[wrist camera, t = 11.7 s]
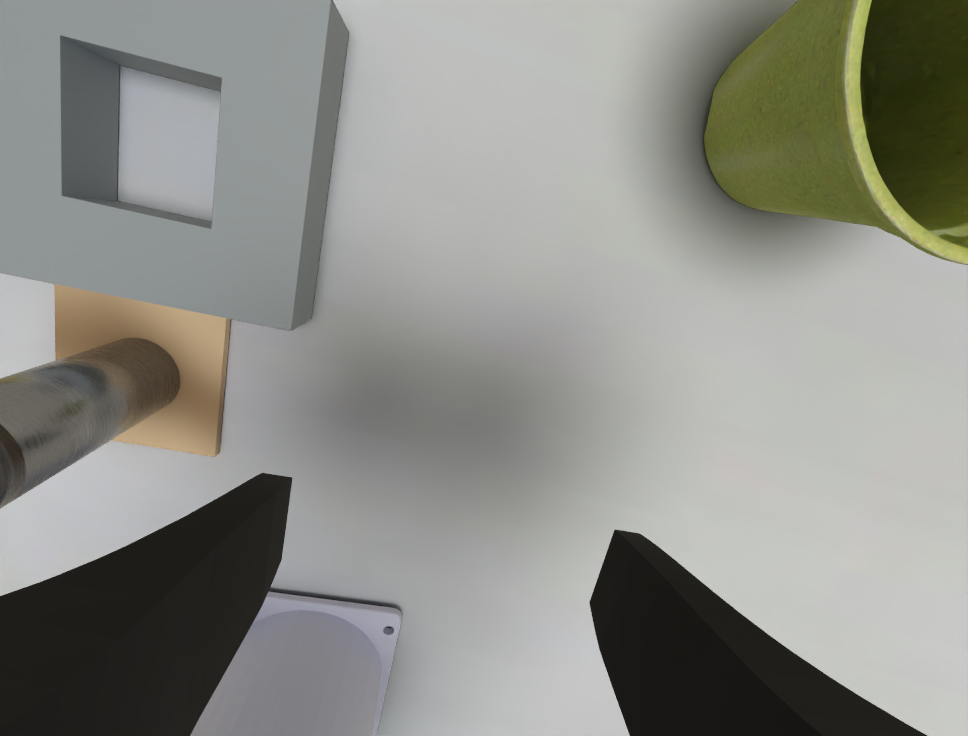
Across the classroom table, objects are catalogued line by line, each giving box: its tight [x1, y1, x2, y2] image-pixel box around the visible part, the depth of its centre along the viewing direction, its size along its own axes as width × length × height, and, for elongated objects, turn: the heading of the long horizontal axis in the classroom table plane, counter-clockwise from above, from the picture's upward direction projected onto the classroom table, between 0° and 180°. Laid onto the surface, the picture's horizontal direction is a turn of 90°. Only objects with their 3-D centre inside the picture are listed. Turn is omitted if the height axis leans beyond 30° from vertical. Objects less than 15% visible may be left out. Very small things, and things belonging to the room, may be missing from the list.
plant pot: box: [704, 0, 968, 265], centre depth 14 cm, size 9×9×9 cm
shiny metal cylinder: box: [0, 338, 181, 508], centre depth 14 cm, size 3×3×8 cm
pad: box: [55, 284, 231, 457], centre depth 18 cm, size 6×6×1 cm
